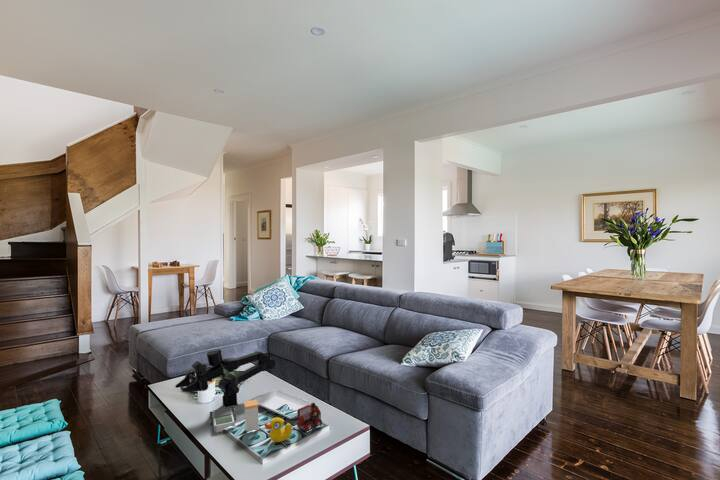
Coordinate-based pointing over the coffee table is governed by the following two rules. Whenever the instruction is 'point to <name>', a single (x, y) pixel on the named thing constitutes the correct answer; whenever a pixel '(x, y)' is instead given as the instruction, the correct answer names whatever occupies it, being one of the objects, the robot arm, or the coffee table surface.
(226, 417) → the small digital clock
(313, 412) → the toy fire truck
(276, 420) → the duckling
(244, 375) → the robot arm
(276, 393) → the tray
